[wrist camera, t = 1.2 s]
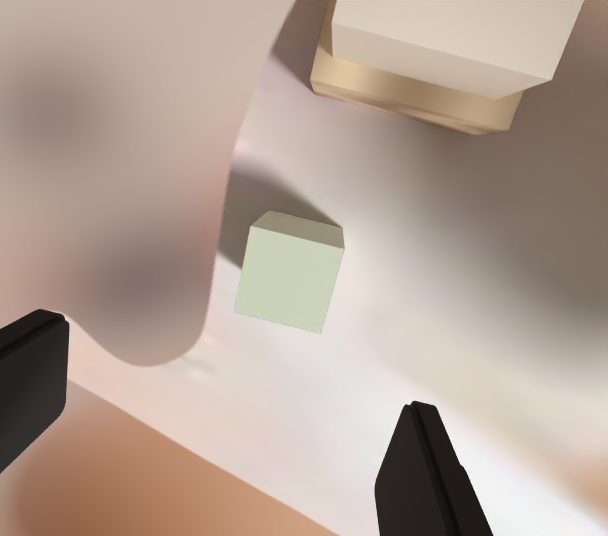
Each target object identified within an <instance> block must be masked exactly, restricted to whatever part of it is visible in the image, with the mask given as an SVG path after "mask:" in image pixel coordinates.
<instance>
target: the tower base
mask: <svg viewBox="0 0 608 536" xmlns="http://www.w3.org/2000/svg"><path fill="white" fill-rule="evenodd" d="M336 2H337V0H328V2H327V6H326V10H325V15H324V19H323V24H322V28H321V32H320V37H319V41H318V46H317V50H316V54H315V59H314V63H313V68H312V72H311V77H310V81H311V84H312V87H313V90H314V93H315V94H316V95H320V96H324V97H328V98H332V99H336V100H339V101H343V102H347V103H351V104H355V105H359V106H363V107H367V108H371V109H374V110H378V111H382V112H386V113H390V114H394V115H398V116H402V117H406V118H409V119H413V120H417V121H421V122H425V123H429V124H433V125H437V126H441V127H445V128H448V129H452V130H456V131H460V132H464V133H468V134H472V135H480V134H487V133H494V132H501V131H508V130H509V128H510V126H511V123H512V121H513V118H514V115H515V113H516V110H517V108H518V105H519V102H520V100H521V97H522V95H523V92H524V90H522V91H519V92H516V93H513V94H510V95H507V96H505V97H502V98H499V99H496V100H492V99H489V98H485V97H481V96H477V95H473V94H470V93H466V92H462V91H458V90H454V89H451V88H447V87H443V86H439V85H435V84H432V83H428V82H424V81H420V80H416V79H413V78H409V77H405V76H401V75H397V74H394V73H390V72H386V71H382V70H378V69H375V68H371V67H367V66H363V65H359V64H356V63H352V62H348V61H344V60H340V59H336V58H333V53H332V19H333V15H334V11H335V6H336Z"/></svg>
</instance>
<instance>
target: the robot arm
mask: <svg viewBox="0 0 608 536" xmlns="http://www.w3.org/2000/svg"><path fill="white" fill-rule="evenodd" d="M68 346H69V323H68V322H67V321H65V318H64V316H63V315H62V314H59V313H55V312H51V311H47V310H43V309H38V310H35V311H34V312H32V313H30V314H28V315H26V316H24V317H22V318H20V319H18V320H17V321H15V322H13V323H11V324H9V325H7V326H5V327H3V328H1V329H0V473H1V472H2V471H3V470H4V469H5V468H6V467H7V466H9V465H10V464H11V463H12V462H13V461H14V460H15V459H16V458H17V457H18V456H19V455H20V454H21V453H22V452H23V451H24V450H25V449H26V448H27V447H28V446H29V445H30V444H31V443H32V442H33V441H34V440H35V439H36V438H37V437H39V435H41V434H42V433H43V432H44V431H45V430H46V429H47V428H48V427H49V426H50V425H51V424H52V423H53V422H54V421H55V420H56V419H57V418H58V417H59V416H60V415H61V413H62V411H63V409H64V407H65V403H66V385H67V366H68ZM375 501H376V509H377V516H378V524H379V532H380V536H493V534H492V531H491V529H490V526H489V524H488V522H487V519H486V517H485V515H484V512H483V510H482V508H481V505H480V503H479V501H478V498H477V496H476V494H475V491H474V489H473V487H472V484H471V482H470V479H469V477H468V475H467V472H466V471H465V469H464V467H463V466H461V465H460V463H459V461H458V458H457V456H456V453H455V451H454V449H453V446H452V444H451V441H450V439H449V437H448V434H447V432H446V429H445V427H444V424H443V422H442V420H441V417H440V415H439V412H438V410H437V408H436V406H434V405H430V404H426V403H422V402H418V401H413V402H412V403H411V405H407V404H406V405H405V406H404V407H403V409H402V412H401V414H400V417H399V420H398V422H397V425H396V428H395V430H394V433H393V436H392V438H391V441H390V444H389V446H388V449H387V452H386V454H385V457H384V460H383V462H382V465H381V468H380V470H379V473H378V476H377V478H376V482H375Z"/></svg>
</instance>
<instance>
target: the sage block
mask: <svg viewBox="0 0 608 536" xmlns="http://www.w3.org/2000/svg"><path fill="white" fill-rule="evenodd" d="M344 250H345V248H344V238H343V229H342V227H338V226H334V225H329V224H325V223H321V222H317V221H313V220H309V219H305V218H301V217H297V216H293V215H289V214H285V213H281V212H277V211H273V210H268V211H267V212H266V213H265V214H264V215H263V216H261V217H260V218H259V219H258V220H257V221H256V222H254V223H253V224H252V225H251V226H250V231H249V236H248V241H247V246H246V251H245V256H244V261H243V267H242V272H241V277H240V282H239V287H238V292H237V297H236V302H235V308H234V313H238V314H242V315H246V316H250V317H254V318H258V319H262V320H266V321H270V322H274V323H278V324H282V325H286V326H290V327H294V328H298V329H302V330H306V331H310V332H314V333H318V334H321V333H322V329H323V325H324V322H325V318H326V314H327V311H328V307H329V304H330V300H331V296H332V293H333V289H334V286H335V282H336V278H337V275H338V271H339V268H340V264H341V260H342V257H343V253H344Z"/></svg>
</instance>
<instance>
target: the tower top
mask: <svg viewBox="0 0 608 536" xmlns="http://www.w3.org/2000/svg"><path fill="white" fill-rule="evenodd" d="M583 2H584V0H337V2H336V6H335V11H334V15H333V19H332V53H333V58H336V59H340V60H344V61H348V62H352V63H356V64H359V65H363V66H367V67H371V68H375V69H378V70H382V71H386V72H390V73H394V74H397V75H401V76H405V77H409V78H413V79H416V80H420V81H424V82H428V83H432V84H435V85H439V86H443V87H447V88H451V89H454V90H458V91H462V92H466V93H470V94H473V95H477V96H481V97H485V98H489V99H492V100H496V99H499V98H502V97H505V96H507V95H510V94H513V93H516V92H519V91H522V90H525V89H528V88H530V87H533V86H536V85H539V84H542V83H545V82H548V81H551V80H552V78H553V75H554V73H555V70H556V68H557V65H558V63H559V60H560V58H561V56H562V53H563V51H564V48H565V46H566V43H567V41H568V38H569V36H570V34H571V31H572V29H573V26H574V24H575V21H576V19H577V16H578V14H579V11H580V9H581V7H582V4H583Z"/></svg>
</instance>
